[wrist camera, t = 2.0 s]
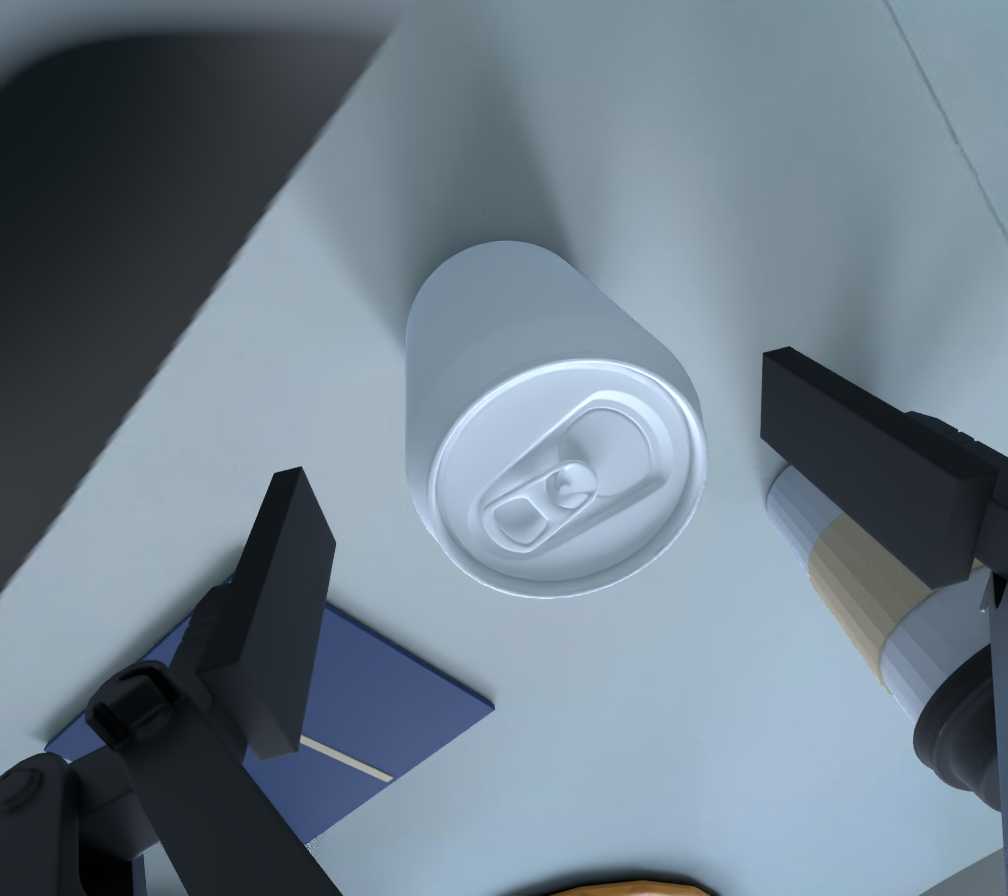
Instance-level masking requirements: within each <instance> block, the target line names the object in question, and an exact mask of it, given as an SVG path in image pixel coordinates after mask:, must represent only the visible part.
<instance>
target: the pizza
mask: <svg viewBox="0 0 1008 896" xmlns="http://www.w3.org/2000/svg"><path fill="white" fill-rule="evenodd" d="M549 896H710V895H709V894H707V893H705V892H703V891H702V890H700V889H698V888H696V887H694V886H686V885H678V884H670V883H662V882H654V881H646V880H639V881H630V882H620V883H611V884H601V885H591V886H582V887H577V888H574V889H570V890H567V891H563V892H560V893H556V894H553V895H549Z"/></svg>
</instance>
